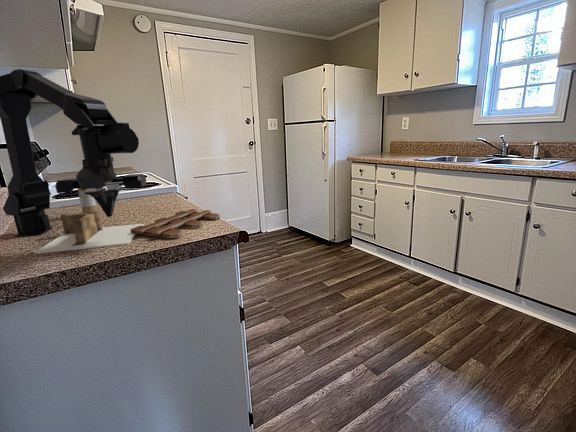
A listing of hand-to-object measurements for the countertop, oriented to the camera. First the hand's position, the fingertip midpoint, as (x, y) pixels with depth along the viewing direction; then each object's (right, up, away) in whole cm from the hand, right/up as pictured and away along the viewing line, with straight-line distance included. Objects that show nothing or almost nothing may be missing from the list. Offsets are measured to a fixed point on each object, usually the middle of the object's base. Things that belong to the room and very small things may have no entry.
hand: (109, 216), depth 78 cm
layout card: (-5, -6, +3) cm, 8 cm away
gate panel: (-7, -5, +2) cm, 9 cm away
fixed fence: (-12, -4, +8) cm, 15 cm away
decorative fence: (+14, -3, +11) cm, 18 cm away
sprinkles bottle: (-23, 0, +28) cm, 36 cm away
